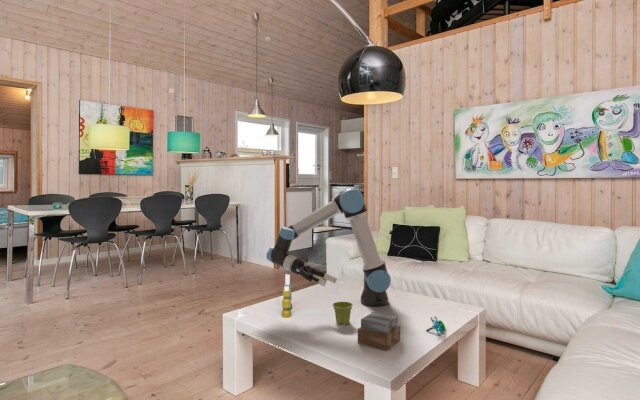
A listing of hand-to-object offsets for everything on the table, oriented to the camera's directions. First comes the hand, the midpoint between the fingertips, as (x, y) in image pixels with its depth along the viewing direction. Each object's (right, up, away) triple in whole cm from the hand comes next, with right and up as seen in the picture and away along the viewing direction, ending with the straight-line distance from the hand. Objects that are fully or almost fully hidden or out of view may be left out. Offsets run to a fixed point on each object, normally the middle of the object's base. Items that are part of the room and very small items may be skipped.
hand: (330, 282), depth 191 cm
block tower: (+19, -19, -26) cm, 38 cm away
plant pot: (+5, -18, -4) cm, 20 cm away
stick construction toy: (+46, -19, -15) cm, 52 cm away
